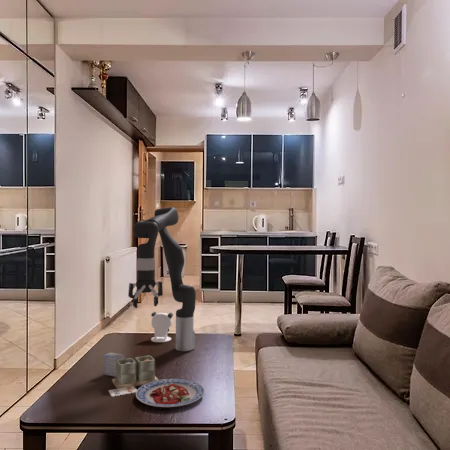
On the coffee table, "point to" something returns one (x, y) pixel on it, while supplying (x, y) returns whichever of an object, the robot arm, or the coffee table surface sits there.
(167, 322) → the white bear shaped stand
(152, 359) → the tube stand
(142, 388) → the ceramic plate
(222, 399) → the coffee table surface
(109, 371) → the medicine box
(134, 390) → the card
